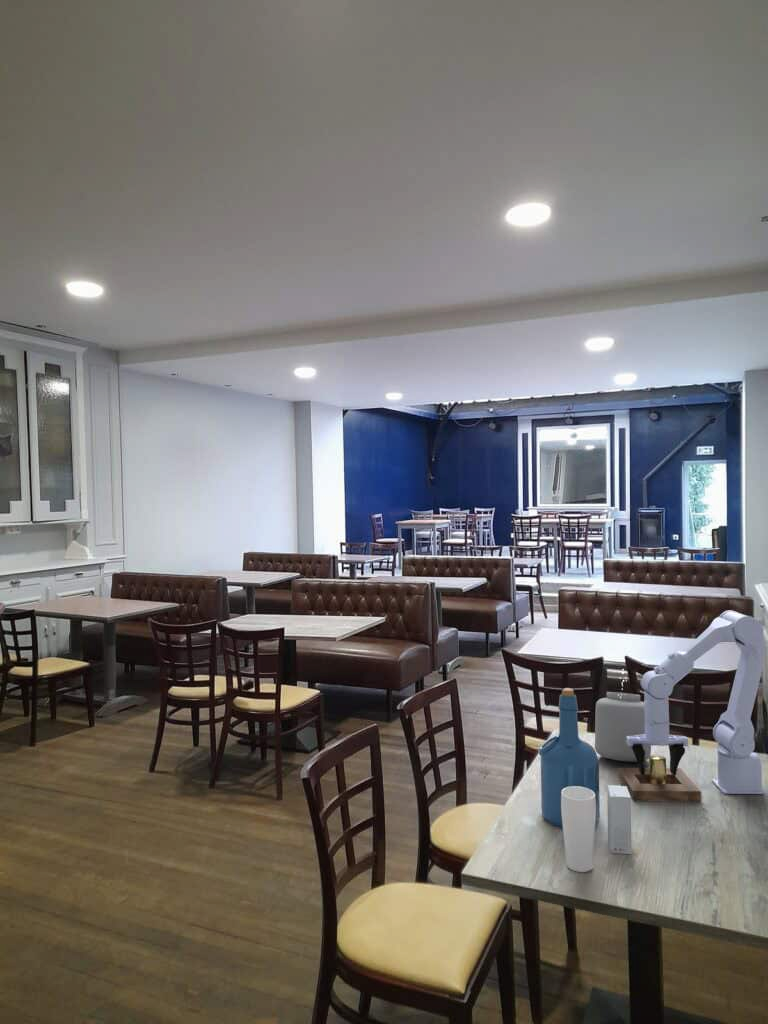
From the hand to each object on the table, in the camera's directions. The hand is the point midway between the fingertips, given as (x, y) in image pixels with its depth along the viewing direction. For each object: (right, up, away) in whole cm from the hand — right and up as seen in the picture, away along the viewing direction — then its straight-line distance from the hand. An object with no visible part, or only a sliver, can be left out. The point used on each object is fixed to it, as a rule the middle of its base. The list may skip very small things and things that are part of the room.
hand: (657, 773), depth 173 cm
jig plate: (0, -4, 0) cm, 4 cm away
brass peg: (0, -4, 0) cm, 4 cm away
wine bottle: (-26, -5, -14) cm, 30 cm away
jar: (-1, -4, +20) cm, 21 cm away
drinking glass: (-30, -6, -35) cm, 46 cm away
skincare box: (-19, -5, -28) cm, 34 cm away
